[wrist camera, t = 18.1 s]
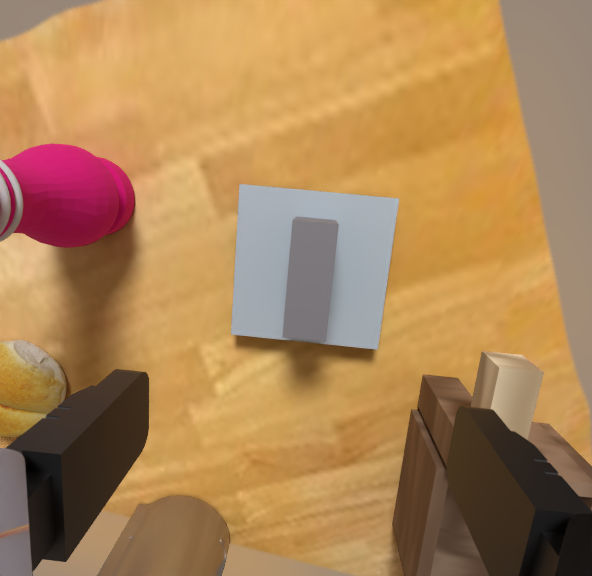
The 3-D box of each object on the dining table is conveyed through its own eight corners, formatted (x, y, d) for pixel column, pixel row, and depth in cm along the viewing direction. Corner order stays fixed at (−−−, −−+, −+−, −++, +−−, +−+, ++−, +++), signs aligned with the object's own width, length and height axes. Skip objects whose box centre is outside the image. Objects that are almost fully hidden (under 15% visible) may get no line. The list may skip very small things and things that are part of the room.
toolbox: (392, 523, 39) (414, 621, 30) (417, 374, 36) (450, 434, 27) (520, 538, 39) (580, 641, 30) (557, 388, 35) (639, 454, 26)
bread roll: (-36, 392, 39) (-76, 414, 35) (10, 322, 37) (-27, 337, 33) (38, 443, 40) (7, 470, 36) (86, 377, 38) (60, 398, 34)
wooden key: (464, 438, 26) (479, 463, 24) (481, 351, 25) (499, 367, 23) (502, 442, 26) (520, 467, 24) (521, 355, 25) (543, 372, 23)
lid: (236, 326, 36) (216, 357, 29) (244, 184, 33) (224, 181, 26) (374, 340, 35) (387, 375, 28) (393, 198, 33) (414, 199, 26)
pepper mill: (120, 256, 35) (-131, 333, 15) (42, 214, 34) (-319, 239, 15) (155, 178, 33) (-76, 155, 14) (74, 133, 33) (-284, 43, 13)
